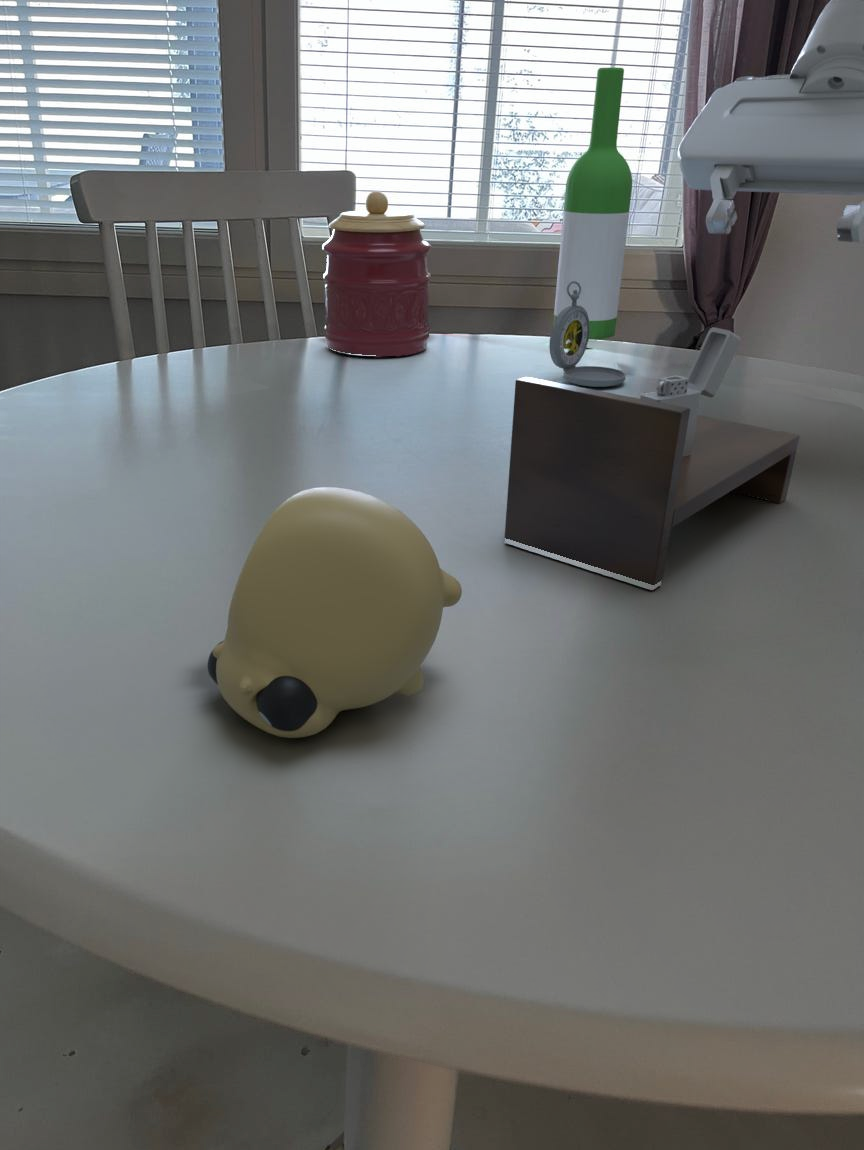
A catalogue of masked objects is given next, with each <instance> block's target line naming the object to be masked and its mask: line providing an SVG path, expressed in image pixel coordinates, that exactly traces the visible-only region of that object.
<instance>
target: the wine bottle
mask: <svg viewBox="0 0 864 1150" xmlns="http://www.w3.org/2000/svg"><path fill="white" fill-rule="evenodd" d="M624 75H625V69H624V68H623V67H599V68H598V69H597V73H596V82H595V90H594V91H595V92H594V102H593V110H592V121H591V130H590V139H589V146H588V148H587V150H586V151H585V152H584V153H583V154H581V155H580V156H579V157H578V159H576V161H575V162H574V163H573V165H572V167H571V168H570V170H569V173H568V175H567V178H566V181H565V182H566V183H565V189H564V190H565V191H564V203H563V214H562V224H561V232H560V244H559V254H558V255H559V256H558V267H557V276H556V278H557V279H556V287H555V288H556V289H555V298H554V299H555V300H554V309H553V310H554V312H553V323H552V326H553V325H554V322H555V320H556V318H557V317H558V315H559V314H560V312H561V311H562V310H563V309H565V308H566V307H568V306H572V300H571V297H570V296H569V295H568V293H567V286H568V284H569V283H570V282H572V281H575V282H578V283H579V284H580V286H581V293H580V295H579V298H578V299H577V305H578V306H581V307H583V308H584V309H585V311H586V312H587V314H588V318H589V325H590V334H589V340H603V339H609V338H613V337H614V336H615V334H616V328H617V327H616V326H617V319H618V313H619V302H620V294H621V286H622V280H623V279H622V278H623V269H624V261H625V260H624V259H625V252H626V243H627V235H628V226H629V220H630V219H629V218H630V209H631V199H632V193H633V192H632V191H633V174H632V171H631V168H630V166H629V163H628V162H627V160H626V158H625V157H624V156H623V155H622V154H621V153H620V152H619V151H618V146H617V145H618V143H617V142H618V133H619V123H620V114H621V103H622V96H623V95H622V93H623V83H624ZM574 290H577V291H578V292H579V287H578V285H577V284H575V283H573V284H571V285H570V287H569V292H570V294H571V295H572V294H573V293H574V292H573V291H574ZM578 292H577V293H578ZM574 331H575V328H574ZM570 337H571V336H570ZM563 345H564V346H565V344H563ZM569 346H570V345H569ZM586 350H593V348H592V347H586Z"/></svg>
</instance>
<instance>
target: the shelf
mask: <svg viewBox="0 0 864 1150" xmlns="http://www.w3.org/2000/svg"><path fill="white" fill-rule="evenodd" d="M512 413H513V414H512V425H511V426H512V427H511V428H512V429H511V438H510V439H511V440H510V452H509V453H510V454H509V468H508V469H509V470H508V484H507V496H506V498H507V499H506V508H505V509H506V510H505V511H506V512H505V524H504V538H506V539H510V540H513V541H516V542H519V543H522V544H525V545H528V546H532V547H535V548H538V549H541V550H544V551H547V552H550V553H554V554H557V555H560V556H563V557H566V558H569V559H572V560H576V561H579V562H582V563H585V564H588V565H591V566H594V567H598V568H601V569H604V570H607V571H610V572H613V573H616V574H620V575H623V576H626V577H629V578H632V579H635V580H638V581H642V582H645V583H648V584H651V585H655V584H657V583H658V582H660V581H661V580H662V581H663V578H664V573H665V567H666V561H667V554H668V548H669V542H670V537H671V531H672V528H673V527H675V526H677V525H679V524H680V523H682V522H683V521H685V520H686V519H688V518H689V517H691V516H693V515H695V514H696V513H698V512H699V511H701V510H703V509H704V508H705V507H707V506H709V505H710V504H712V503H714V502H716V501H717V500H718V499H720V498H722V497H723V496H725V495H727V494H728V493H734V492H736V493H735V494H738V493H741V494H740V495H742V494H745V495H744V496H746V495H750V496H754V497H759V498H763V499H767V500H770V501H769V502H771V501H774V502H773V503H775V502H778V503H777V504H781V503H783V502H784V501H786V500H785V499H787V495H788V491H789V487H790V482H791V478H792V473H793V469H794V465H795V461H796V456H797V450H798V447H799V442H800V437H801V435H800V434H797V433H792V432H786V431H782V430H776V429H771V428H766V427H761V426H756V425H751V424H747V423H741V422H736V421H731V420H725V419H721V418H716V417H710V416H705V415H701V414H698V415H697V421H696V427H695V433H694V439H693V444H692V450H691V455H689V456H685V457H683V451H684V445H685V438H686V432H687V426H688V420H689V414H690V409H689V408H686V407H680V406H675V405H670V404H665V403H660V402H655V401H649V400H644V399H640V398H639V397H634V396H628V395H624V394H617V393H612V392H609V391H603V390H597V389H592V388H587V387H581V386H578V385H572V384H566V383H563V382H562V383H561V382H557V381H551V380H546V379H540V378H535V377H529V376H524V377H521V378H518V379H516V380H515V384H514V399H513V412H512ZM730 491H732V492H730ZM750 496H749V497H750ZM754 497H753V498H754ZM759 498H758V499H759ZM763 499H762V500H763ZM767 500H766V501H767ZM782 501H783V502H782Z"/></svg>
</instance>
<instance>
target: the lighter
mask: <svg viewBox="0 0 864 1150" xmlns="http://www.w3.org/2000/svg"><path fill="white" fill-rule="evenodd" d="M741 342H742V339H741V337H740V336H738V335H737V334H735V333H734V332H732V331H731V330H729V329H724V328H720V327H713V326H712V327H711V328H709V329H708V331H707V334H706V336H705V338H704V340H703V342H702V344H701V347H700V349H699V351H698V353H697V355H696V358H695V360H694V361H693V363H692V366H691V367H690V370H689V372H688V374H687V376H682V375H678V374H676V375H670V376H664V377H659V378H658V380H657V381H658V382H657V386H656V391H651V392H645V393H640V398H639V399H644V400H649V401H655V402H660V403H665V404H670V405H675V406H680V407H686V408H689V409H690V414H689V420H688V426H687V432H686V438H685V445H684V451H683V457H685V456H689V455H691V450H692V444H693V439H694V433H695V427H696V421H697V415H699V409H700V403H701V398H702V397H701V396H705V397H707V398H714V397H716V394H717V392H718V390H719V388H720V386H721V383H722V382H723V380H724V378H725V375H726V374H727V371H728V369H729V368H730V365H731V363H732V361H733V359H734V356H735V355H736V352H737V350H738V348H739V346H740V344H741Z"/></svg>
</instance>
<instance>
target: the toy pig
mask: <svg viewBox="0 0 864 1150" xmlns="http://www.w3.org/2000/svg"><path fill="white" fill-rule="evenodd" d="M462 595H463V589H462V586H461V583H460V582H459V581H458V579H457V578H456V577H454V576H453V575H452V574H450V573H448V572H446V571H445V570H443V569H442V568H441V566H440V564H439V560H438V557H437V555H436V552H435V549H434V548H433V546H432V545H431V543H430V541H429V540H428V538H427V537H426V535H425V534H424V532H423V531H422V529H420V528H419V526H418V525H417V524H416V523H415V522H414V521H413V520H412V519H411V518H410V517H409V516H407V514H405V513H404V512H402V511H401V510H399V509H398V508H397V507H395V506H394V505H392V504H390V503H388V502H387V501H386V500H382V499H381V498H378V497H377V496H374V495H372V494H368V493H366V492H363V491H358V490H356V489H355V490H354V489H349V488H344V487H334V486H333V487H331V486H330V487H329V486H323V487H322V486H321V487H312V488H307V489H304V490H302V491H300V492H297V493H295V494H293V495H292V496H290V497H288V498H287V499H286V500H284V501H283V502H282V503H281V504H280V505H279V506H278V507H277V508H276V509H275V510H274V511H273V513H271V515H270V516H269V517H268V519H267V520H266V522H265V523H264V524H263V526H262V528H261V529H260V531H259V533H258V535H257V536H256V539H255V540H254V542H253V544H252V546H251V548H250V550H249V552H248V554H247V556H246V559H245V561H244V564H243V566H242V569H241V570H240V573H239V576H238V578H237V581H236V584H235V586H234V590H233V593H232V596H231V599H230V600H231V601H230V605H229V609H228V615H227V627H226V632H225V635H224V640H222V641H220V642H219V643H217V644H216V645H215V646H214V647H213V649H212V650H211V652H210V653H209V656H208V660H207V672H208V675H209V677H210V679H211V680H212V682H213V683H214V684H215V685H216V686H218V689H219V692H220V694H221V697H222V698H223V699H224V701H225V702H227V705H228V706H229V707H230V708H232V710H234V711H235V713H236V714H238V715H240V717H242V719H244V720H245V721H247V722H248V723H249V724H252V725H253V726H255V727H256V728H258V729H260V730H261V731H264V732H266V733H268V734H270V735H273V736H276V737H280V738H285V739H287V738H288V739H298V738H306V737H311V736H313V735H316V734H318V733H320V732H321V731H323V730H325V729H326V728H328V727H329V725H331V723H332V722H333V721H334V720H335V719H336V717H337V715H338V714H339V713H340V712H342V711H346V710H355V709H360V708H365V707H369V706H372V705H374V704H377V703H379V702H382V701H384V700H385V699H387V698H389V697H391V696H392V695H394V694H395V693H398V694H399V695H400V694H401V695H403V696H407V697H409V696H414V695H417V694H418V693H420V691H421V690H422V689H423V687H424V684H425V677H424V673H423V670H422V669H421V666H422V664H423V663H424V661H425V660H426V658H427V656H428V655H429V653H430V651H431V650H432V648H433V646H434V643H435V641H436V639H437V636H438V633H439V630H440V626H441V622H442V619H443V618H442V617H443V612H444V611H443V610H444V608H448V607H453V606H455V605H457V604H458V603H459V601H460V600H461V598H462Z"/></svg>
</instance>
